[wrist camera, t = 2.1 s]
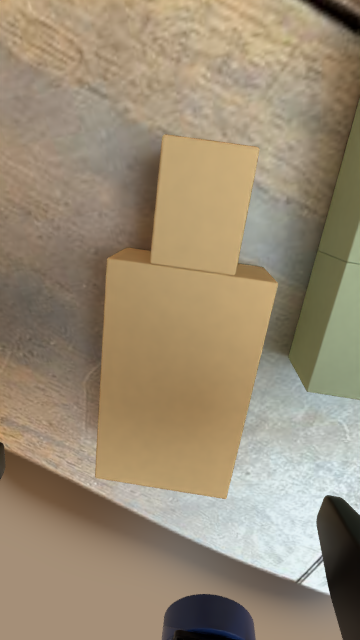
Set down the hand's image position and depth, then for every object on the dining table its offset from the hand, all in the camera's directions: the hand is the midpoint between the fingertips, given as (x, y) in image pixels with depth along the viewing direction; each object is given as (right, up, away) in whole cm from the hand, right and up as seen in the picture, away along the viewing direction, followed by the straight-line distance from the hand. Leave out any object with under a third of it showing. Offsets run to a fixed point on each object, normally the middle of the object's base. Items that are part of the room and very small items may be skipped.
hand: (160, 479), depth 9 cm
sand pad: (+1, +4, +6) cm, 7 cm away
